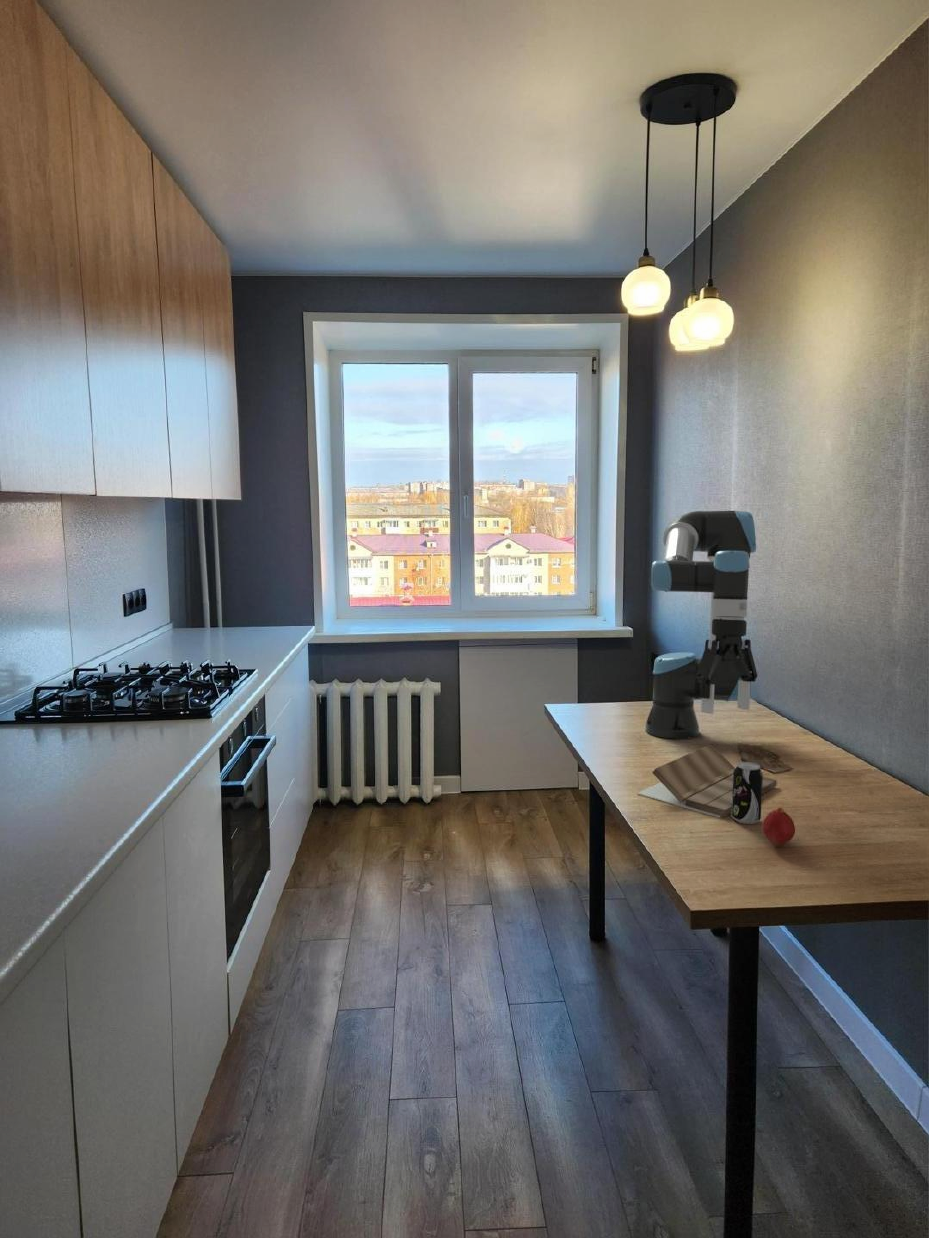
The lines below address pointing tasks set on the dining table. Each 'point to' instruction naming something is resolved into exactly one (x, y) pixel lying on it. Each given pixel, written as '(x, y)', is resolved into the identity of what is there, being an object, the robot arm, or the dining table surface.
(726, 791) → the laid board
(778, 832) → the pomegranate
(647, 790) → the underlay mat
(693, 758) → the plank
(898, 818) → the dining table surface
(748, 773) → the beverage can
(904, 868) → the dining table surface
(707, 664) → the robot arm
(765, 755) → the wooden fragment
